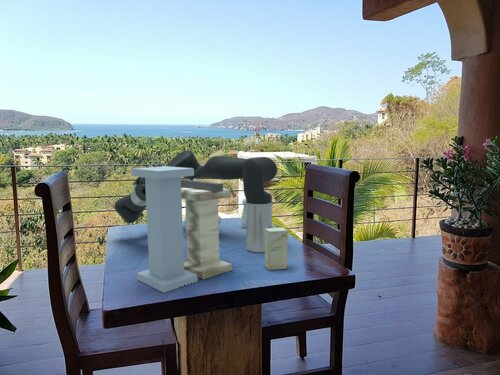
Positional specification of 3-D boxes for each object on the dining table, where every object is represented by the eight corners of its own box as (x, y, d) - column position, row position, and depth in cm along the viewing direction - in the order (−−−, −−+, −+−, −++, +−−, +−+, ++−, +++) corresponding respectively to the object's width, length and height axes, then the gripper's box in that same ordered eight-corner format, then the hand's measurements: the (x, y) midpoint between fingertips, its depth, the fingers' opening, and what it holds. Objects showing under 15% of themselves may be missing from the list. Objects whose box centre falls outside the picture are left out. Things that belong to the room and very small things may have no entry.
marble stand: (175, 268, 121) (172, 188, 118) (204, 260, 128) (201, 185, 125) (203, 279, 111) (200, 193, 108) (232, 270, 118) (230, 189, 115)
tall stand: (137, 279, 112) (131, 168, 108) (170, 270, 119) (166, 166, 115) (163, 292, 102) (158, 171, 98) (197, 281, 109) (193, 168, 105)
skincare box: (268, 270, 118) (268, 231, 116) (264, 266, 122) (263, 228, 120) (288, 268, 119) (288, 230, 118) (283, 264, 124) (283, 226, 122)
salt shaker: (252, 229, 172) (252, 200, 170) (240, 228, 173) (239, 199, 171) (255, 226, 178) (254, 198, 176) (242, 225, 179) (242, 197, 177)
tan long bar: (167, 185, 128) (167, 178, 128) (173, 184, 129) (172, 177, 129) (217, 192, 109) (216, 184, 109) (223, 191, 111) (222, 183, 110)
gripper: (123, 185, 137) (141, 163, 126) (158, 181, 147) (178, 161, 136) (129, 204, 136) (148, 184, 124) (164, 199, 145) (185, 180, 134)
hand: (164, 172), depth 130 cm, fingers open, 8 cm apart
